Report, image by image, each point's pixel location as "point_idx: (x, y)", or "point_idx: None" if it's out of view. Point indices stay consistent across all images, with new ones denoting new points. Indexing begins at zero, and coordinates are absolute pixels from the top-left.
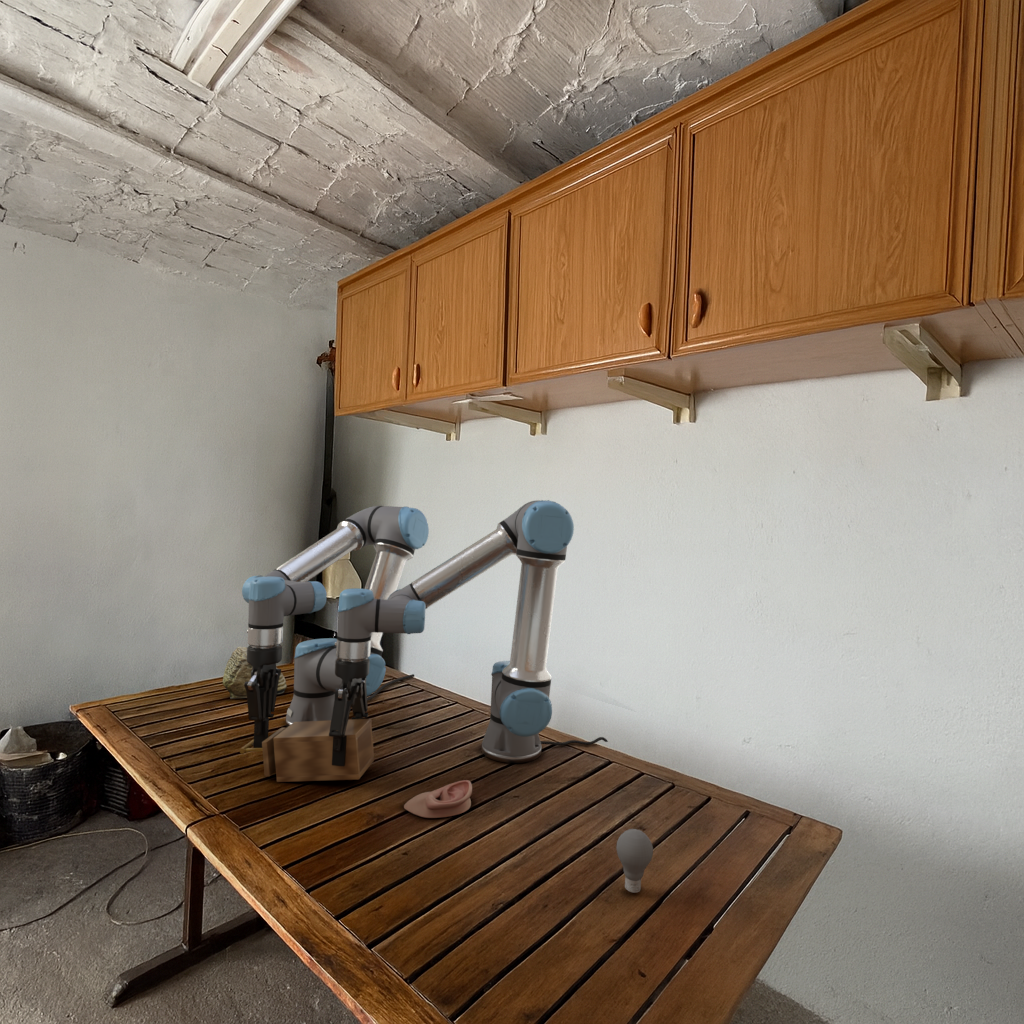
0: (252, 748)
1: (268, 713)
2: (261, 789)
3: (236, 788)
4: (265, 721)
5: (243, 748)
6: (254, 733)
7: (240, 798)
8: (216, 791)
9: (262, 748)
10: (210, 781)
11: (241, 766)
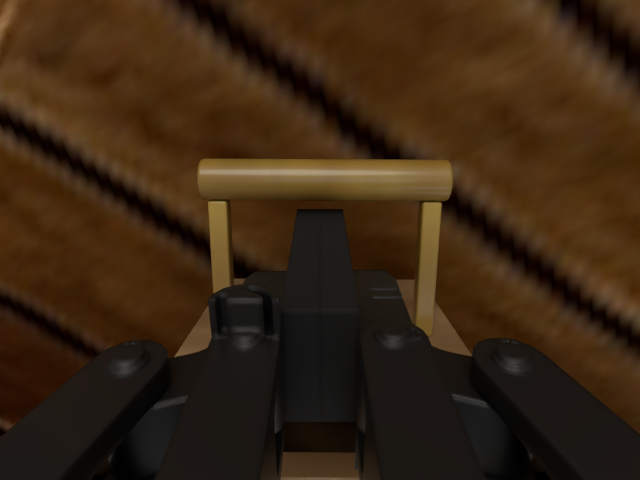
0: (221, 248)
1: (358, 462)
2: (142, 300)
3: (112, 197)
4: (287, 411)
5: (200, 192)
6: (247, 279)
7: (40, 260)
8: (51, 122)
9: (184, 341)
10: (132, 22)
11: (344, 88)
